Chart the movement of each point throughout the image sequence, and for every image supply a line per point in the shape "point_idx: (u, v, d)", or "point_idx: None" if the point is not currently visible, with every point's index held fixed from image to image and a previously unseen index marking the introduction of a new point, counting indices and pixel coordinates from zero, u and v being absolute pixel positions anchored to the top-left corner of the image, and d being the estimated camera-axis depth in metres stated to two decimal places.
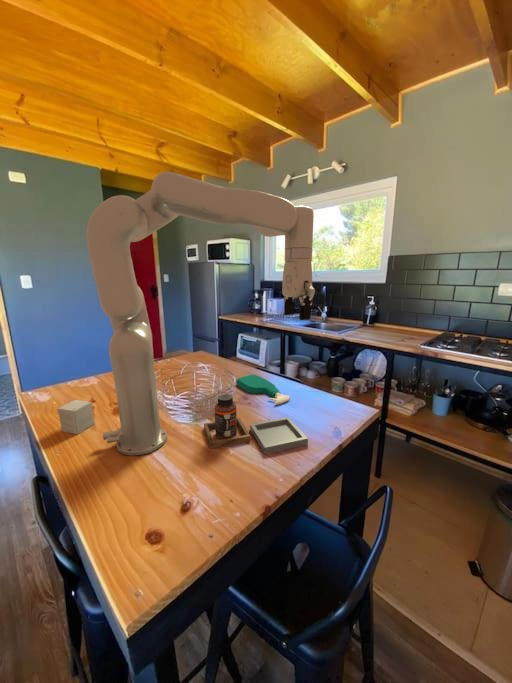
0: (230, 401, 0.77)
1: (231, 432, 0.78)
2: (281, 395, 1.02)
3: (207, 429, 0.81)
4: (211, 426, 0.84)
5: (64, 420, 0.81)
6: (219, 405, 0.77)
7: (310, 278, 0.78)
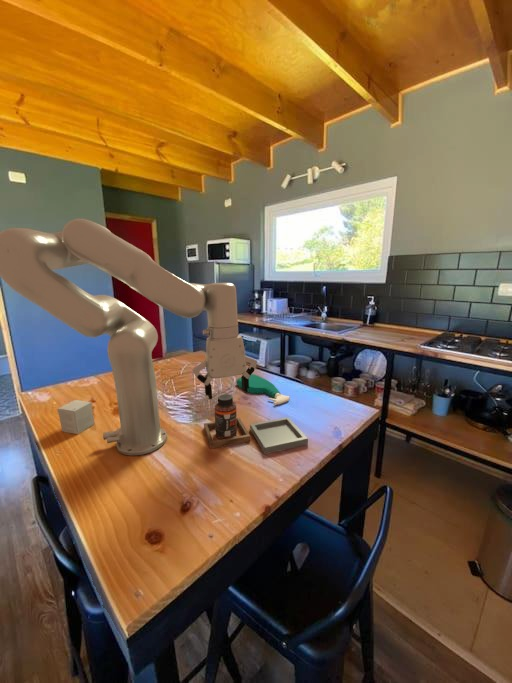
0: (230, 401, 0.77)
1: (231, 432, 0.78)
2: (281, 395, 1.02)
3: (207, 429, 0.81)
4: (211, 426, 0.84)
5: (64, 420, 0.81)
6: (219, 405, 0.77)
7: None
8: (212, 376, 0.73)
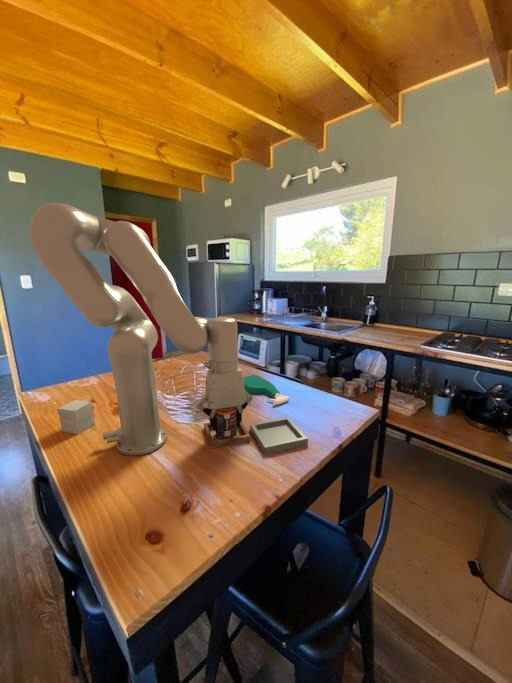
0: None
1: (231, 432, 0.78)
2: (280, 396, 1.02)
3: (207, 429, 0.81)
4: None
5: (64, 420, 0.81)
6: None
7: None
8: (211, 408, 0.75)
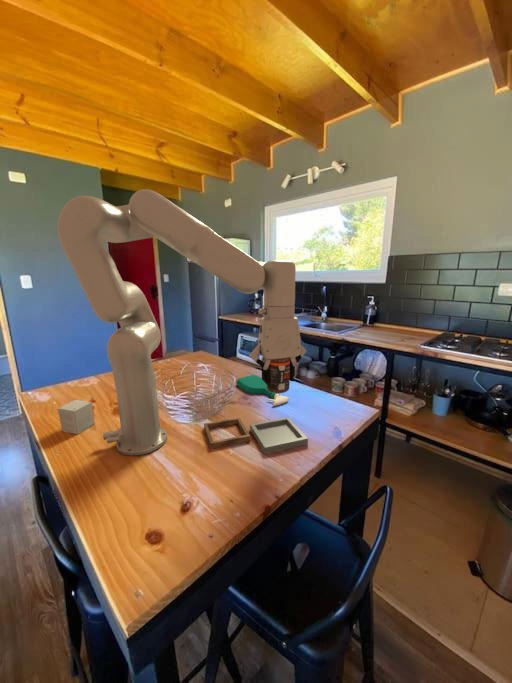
0: None
1: (285, 385, 0.73)
2: (280, 396, 1.01)
3: (207, 429, 0.81)
4: (211, 426, 0.84)
5: (64, 420, 0.81)
6: None
7: None
8: (267, 357, 0.70)
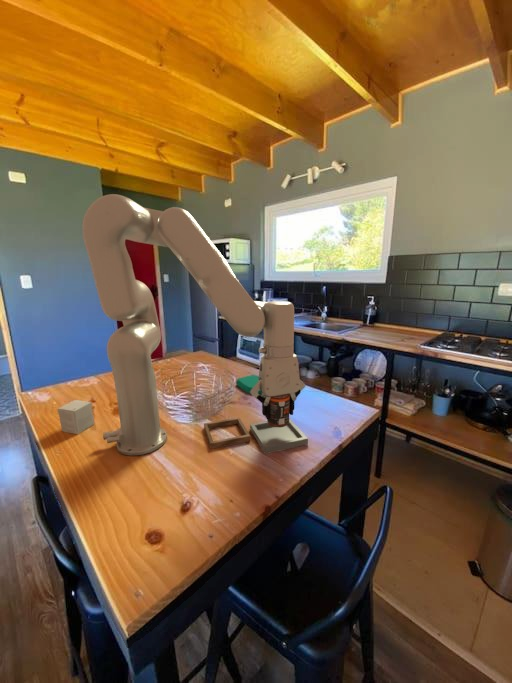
0: None
1: (285, 420, 0.76)
2: None
3: (207, 429, 0.81)
4: (211, 426, 0.84)
5: (64, 420, 0.81)
6: None
7: None
8: (267, 395, 0.72)
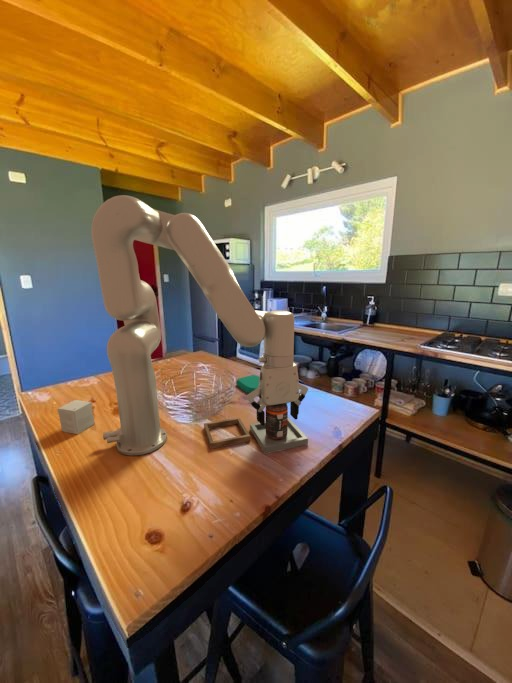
0: None
1: (283, 432, 0.76)
2: None
3: (207, 429, 0.81)
4: (211, 426, 0.84)
5: (64, 420, 0.81)
6: (271, 405, 0.76)
7: None
8: (267, 403, 0.73)
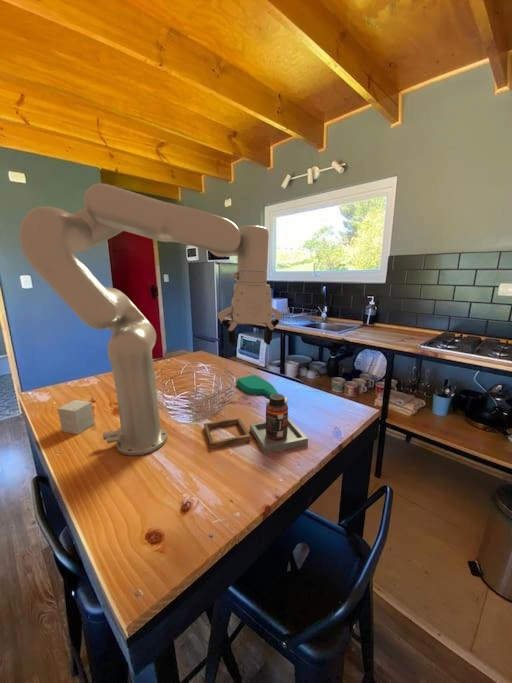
0: (283, 401, 0.76)
1: (283, 432, 0.77)
2: None
3: (207, 429, 0.81)
4: (211, 426, 0.84)
5: (64, 420, 0.81)
6: (272, 405, 0.76)
7: None
8: (237, 321, 0.72)
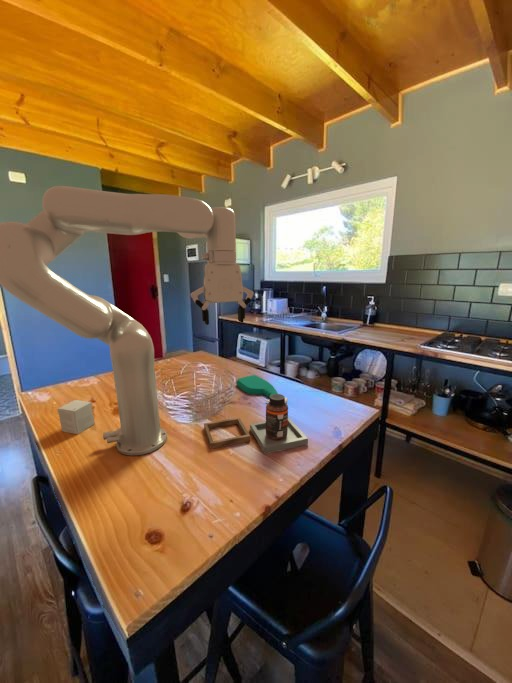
0: (283, 401, 0.76)
1: (283, 432, 0.77)
2: None
3: (207, 429, 0.81)
4: (211, 426, 0.84)
5: (64, 420, 0.81)
6: (272, 405, 0.76)
7: None
8: (209, 300, 0.75)
